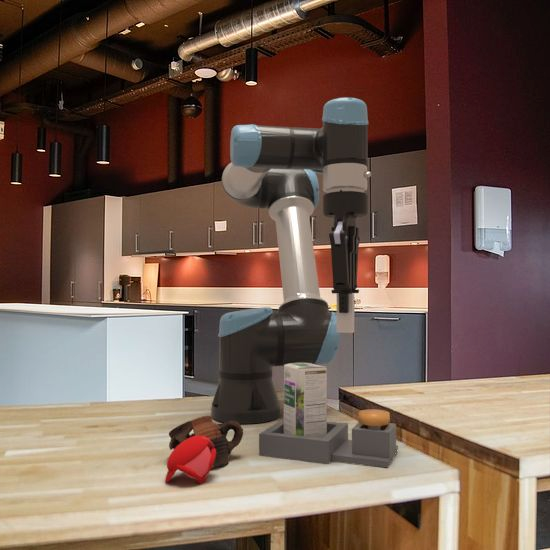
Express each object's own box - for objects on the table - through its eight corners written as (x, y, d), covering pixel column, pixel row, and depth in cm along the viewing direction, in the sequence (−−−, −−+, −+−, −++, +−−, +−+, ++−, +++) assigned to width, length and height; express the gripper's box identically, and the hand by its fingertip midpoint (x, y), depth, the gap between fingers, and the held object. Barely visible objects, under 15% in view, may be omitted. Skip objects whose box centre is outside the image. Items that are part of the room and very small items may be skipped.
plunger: (355, 449, 85) (355, 414, 85) (362, 440, 89) (362, 408, 89) (387, 452, 83) (386, 417, 83) (392, 444, 87) (392, 410, 87)
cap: (213, 446, 82) (179, 428, 81) (225, 442, 77) (190, 423, 76) (190, 497, 78) (154, 478, 77) (201, 496, 73) (163, 477, 72)
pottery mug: (184, 480, 77) (165, 427, 80) (178, 488, 85) (161, 440, 88) (257, 449, 82) (237, 400, 85) (245, 459, 90) (227, 414, 93)
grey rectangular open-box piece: (259, 455, 87) (258, 424, 87) (285, 436, 98) (285, 409, 98) (386, 471, 79) (385, 437, 79) (399, 448, 90) (398, 419, 90)
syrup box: (282, 447, 92) (281, 363, 92) (311, 442, 94) (310, 361, 95) (298, 456, 87) (298, 367, 87) (328, 451, 89) (328, 365, 90)
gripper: (359, 185, 82) (359, 337, 82) (374, 197, 94) (374, 329, 94) (313, 188, 84) (313, 335, 84) (333, 199, 96) (333, 327, 96)
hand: (345, 332), depth 89 cm, fingers closed
